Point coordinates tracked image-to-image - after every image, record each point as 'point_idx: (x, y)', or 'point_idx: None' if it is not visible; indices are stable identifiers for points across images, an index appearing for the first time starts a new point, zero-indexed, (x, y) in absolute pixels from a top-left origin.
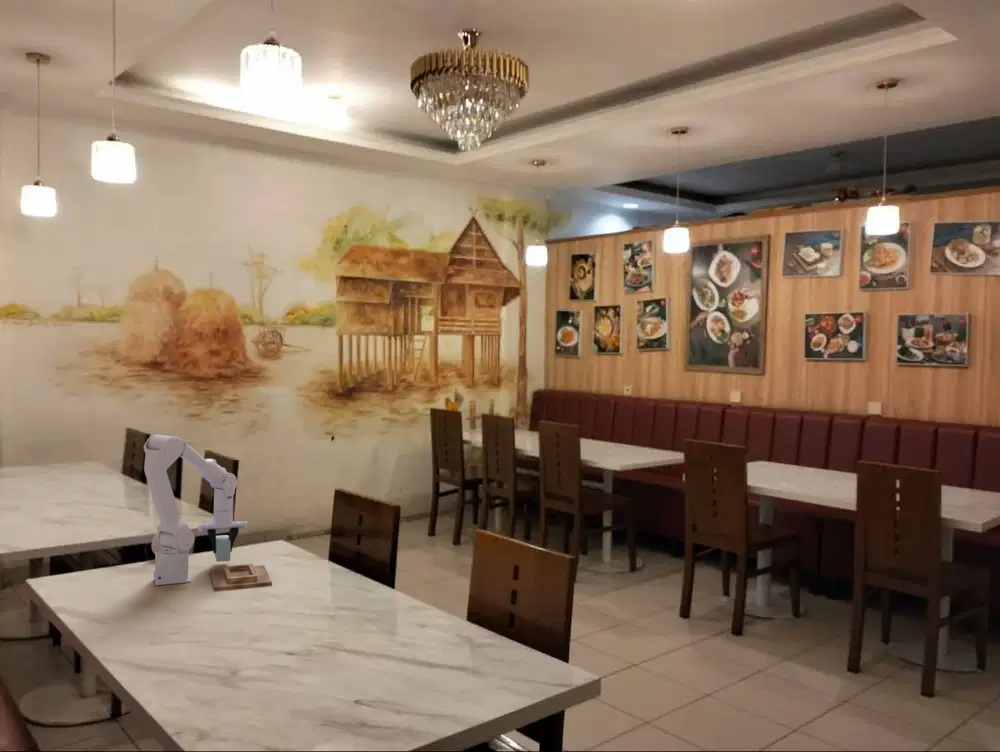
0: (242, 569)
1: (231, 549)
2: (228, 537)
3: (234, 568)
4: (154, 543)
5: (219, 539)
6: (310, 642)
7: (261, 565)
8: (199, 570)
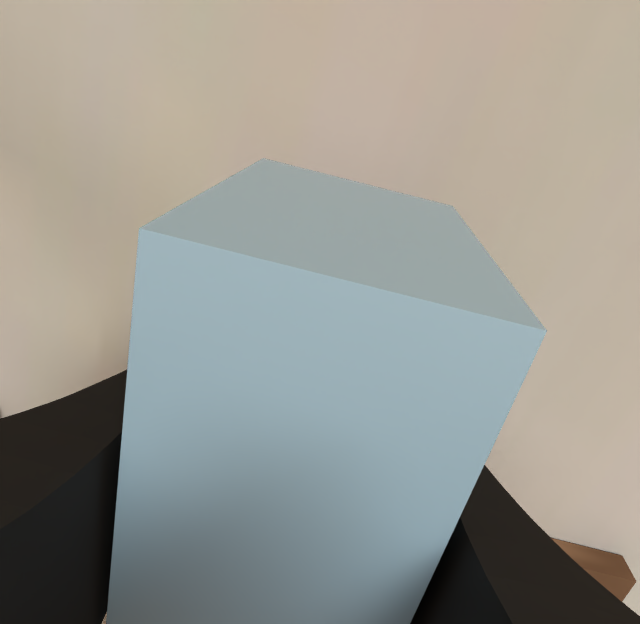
0: None
1: None
2: (421, 566)
3: None
4: None
5: (180, 605)
6: None
7: (612, 575)
8: (95, 318)
